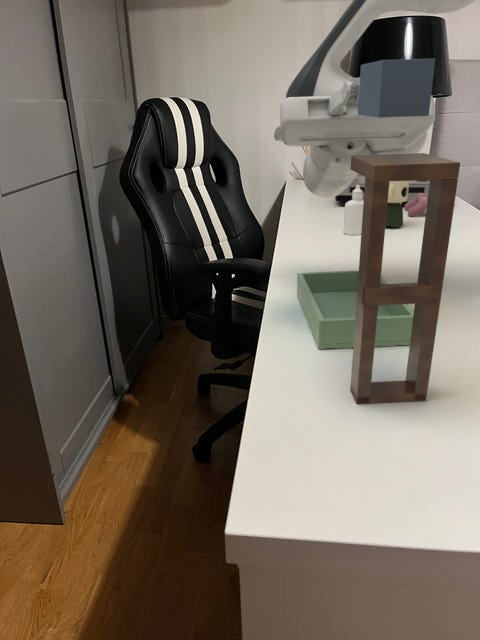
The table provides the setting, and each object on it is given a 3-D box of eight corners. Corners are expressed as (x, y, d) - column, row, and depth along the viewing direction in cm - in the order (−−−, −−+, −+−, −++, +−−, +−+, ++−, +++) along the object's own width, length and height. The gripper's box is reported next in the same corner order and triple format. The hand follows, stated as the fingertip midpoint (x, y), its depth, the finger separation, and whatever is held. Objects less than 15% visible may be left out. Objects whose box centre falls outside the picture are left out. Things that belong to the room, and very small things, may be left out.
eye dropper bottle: (344, 230, 129) (347, 183, 124) (367, 232, 127) (370, 183, 123) (342, 234, 125) (344, 186, 121) (365, 236, 124) (368, 186, 119)
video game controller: (420, 222, 141) (435, 200, 138) (406, 215, 141) (420, 192, 138) (415, 215, 150) (429, 194, 147) (402, 208, 150) (415, 187, 147)
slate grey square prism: (380, 111, 64) (383, 67, 62) (429, 115, 49) (435, 58, 47) (341, 112, 63) (343, 68, 61) (378, 117, 49) (383, 60, 47)
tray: (373, 292, 88) (375, 269, 86) (415, 345, 69) (419, 316, 68) (296, 296, 88) (297, 272, 86) (318, 349, 69) (319, 321, 67)
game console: (441, 208, 151) (445, 180, 148) (334, 207, 157) (335, 180, 154) (431, 195, 170) (434, 170, 167) (335, 195, 176) (336, 171, 173)
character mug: (401, 232, 126) (407, 179, 121) (373, 230, 129) (377, 178, 124) (406, 222, 135) (412, 173, 130) (379, 221, 138) (384, 172, 133)
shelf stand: (399, 362, 65) (424, 153, 54) (426, 400, 57) (460, 162, 46) (338, 365, 65) (351, 155, 54) (356, 404, 57) (375, 165, 46)
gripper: (271, 121, 73) (281, 63, 59) (409, 117, 74) (451, 58, 60) (274, 162, 73) (284, 113, 59) (413, 158, 73) (456, 108, 59)
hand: (370, 85), depth 59 cm, fingers closed on slate grey square prism, 3 cm apart
